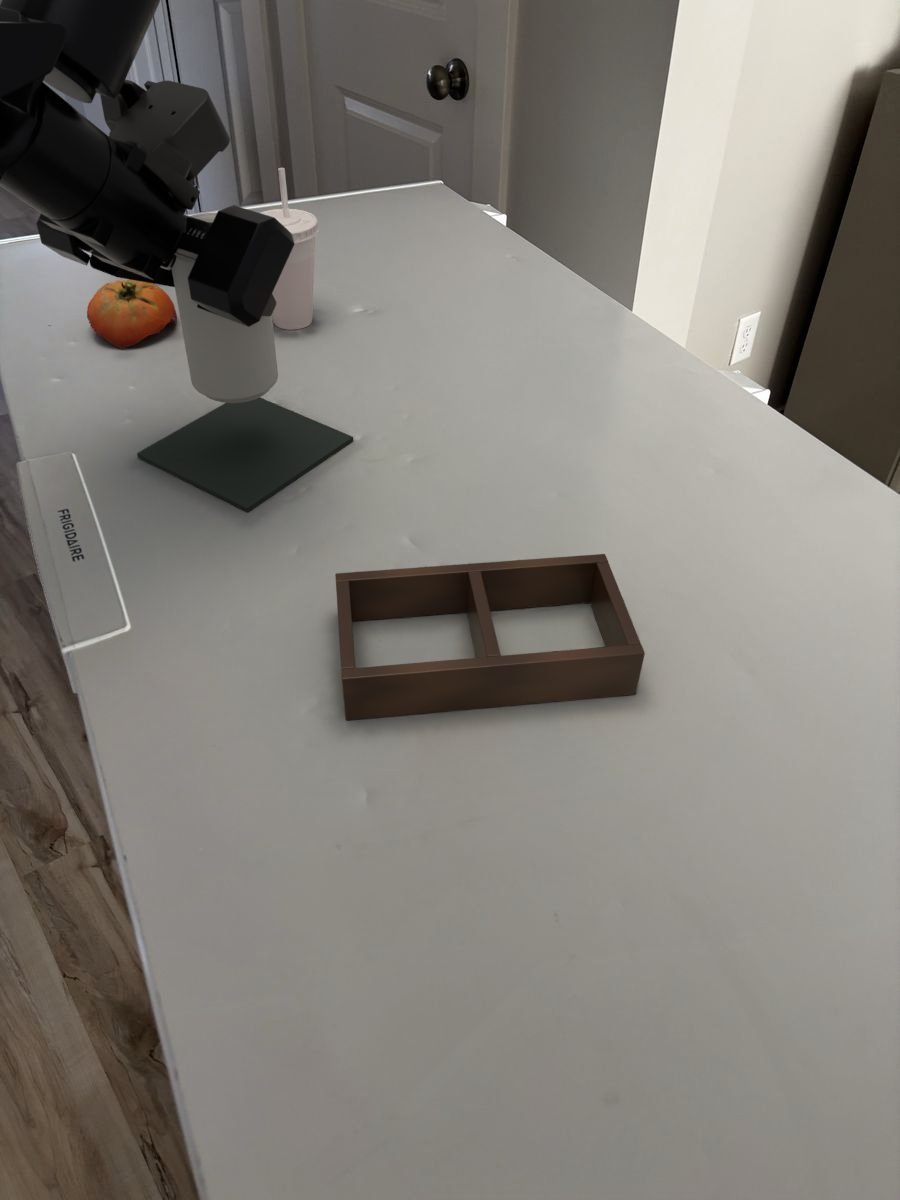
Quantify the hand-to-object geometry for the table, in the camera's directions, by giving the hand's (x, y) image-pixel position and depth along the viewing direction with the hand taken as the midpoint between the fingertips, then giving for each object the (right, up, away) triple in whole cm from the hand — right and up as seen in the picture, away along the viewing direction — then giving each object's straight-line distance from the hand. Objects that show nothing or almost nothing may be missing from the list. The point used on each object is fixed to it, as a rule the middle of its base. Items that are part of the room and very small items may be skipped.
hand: (238, 296), depth 66 cm
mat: (-1, -10, +8) cm, 12 cm away
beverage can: (-1, -6, +4) cm, 7 cm away
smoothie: (0, +5, +24) cm, 25 cm away
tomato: (-15, +4, +22) cm, 27 cm away
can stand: (+17, -25, -9) cm, 32 cm away
